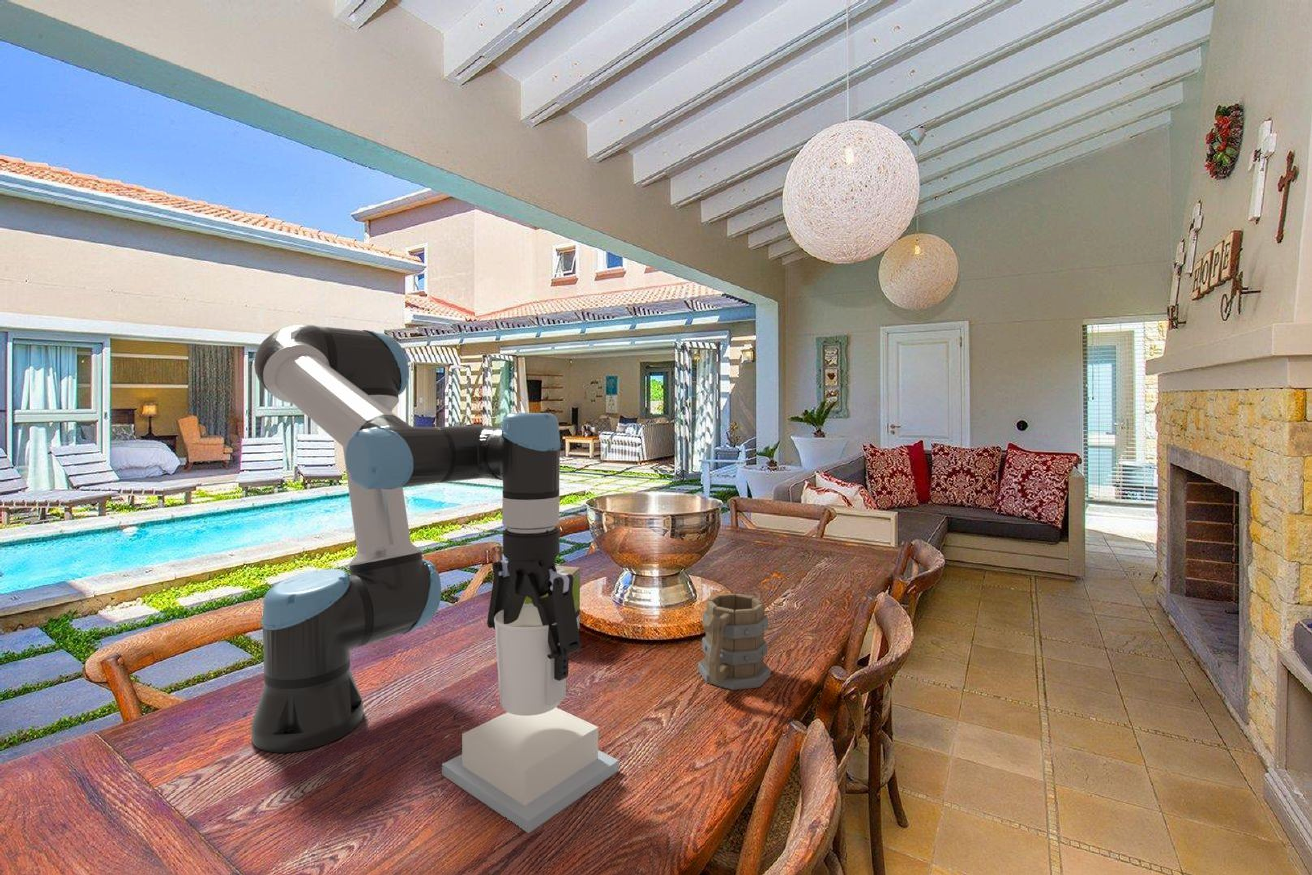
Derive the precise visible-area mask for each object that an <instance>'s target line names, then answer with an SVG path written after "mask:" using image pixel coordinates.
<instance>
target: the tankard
mask: <svg viewBox="0 0 1312 875" xmlns="http://www.w3.org/2000/svg"><path fill="white" fill-rule="evenodd" d="M705 605H706V609H705V611H704V612H703V613H702V626H703V629H704V632H705V636H703V637H702V639H701V650H702V651H703V652H704V653H705V657H704V658H703V659H701V661H699V662H698V663H697V672H698V673H699V674H700V675H701V677H702V678H703V680H704V681H705V682H706V683H707V684H708V683H709V685H712V684H713V686H716V687H720V688H723V689H727V690H730V691H737V690H748V689H749V690H750V689H755V688H757V689H758V688H760V687H761V686H762V685H763V684H765V682H766V681H768V679H769V678H770V677H771V667H769V666H768V665H767V664H766V663H765V662H764V657H765V656H766V655H767V653H768V642H767V641H766V640H765V638H764V636H765V633H764V632H766V631H767V629H768V626H769V624H768V623H769V622H768V621H769V618H768V616H767V615H766V614H765V607H766V606H765V603H763V602H762V601H761V600H760V599H758V598H757V597H755V596H753V595H746V594H741V593H736V592H735V593H723V594H715V595H713V596H712V597H710V598H708V599H707V600H706V604H705Z"/></svg>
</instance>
